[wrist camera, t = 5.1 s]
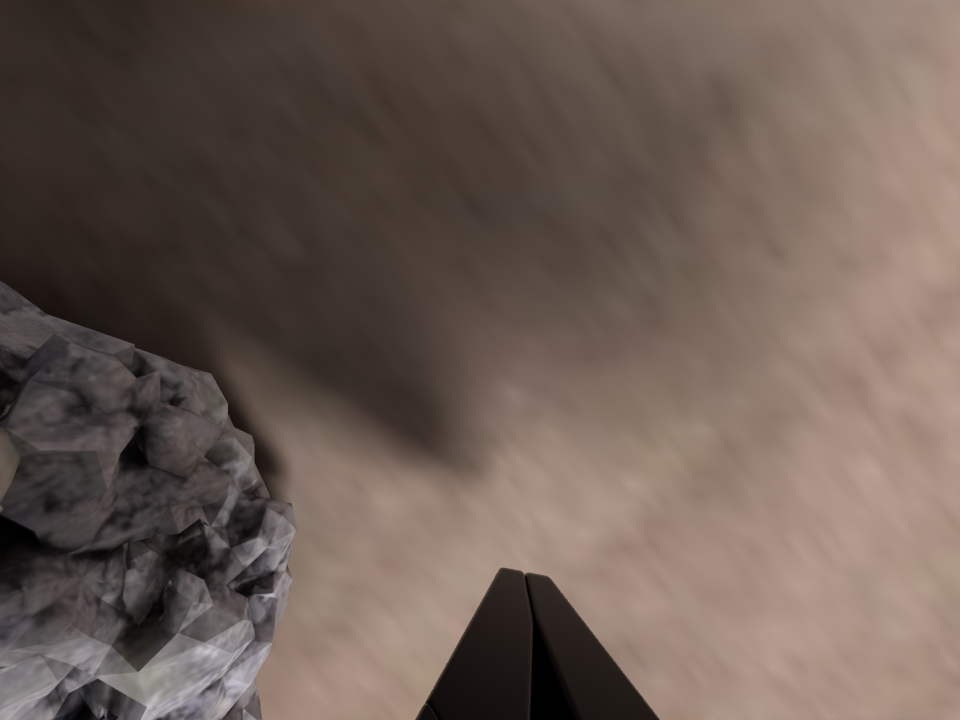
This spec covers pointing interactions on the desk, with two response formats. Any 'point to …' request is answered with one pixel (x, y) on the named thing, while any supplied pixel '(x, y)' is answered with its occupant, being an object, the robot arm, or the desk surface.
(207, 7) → the desk surface
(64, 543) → the mineral specimen
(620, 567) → the desk surface
